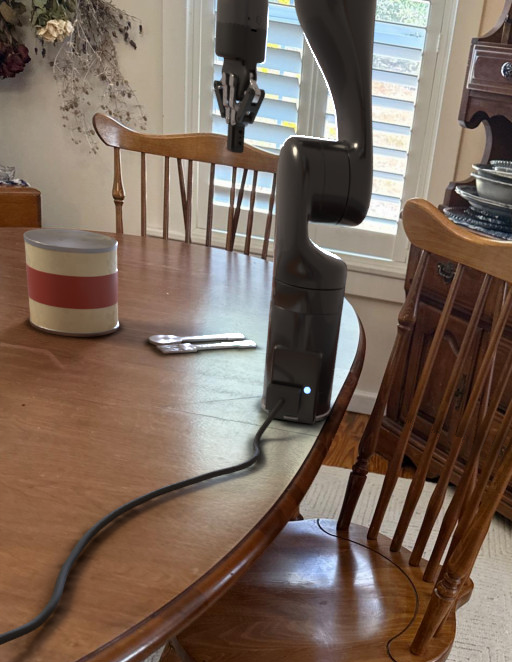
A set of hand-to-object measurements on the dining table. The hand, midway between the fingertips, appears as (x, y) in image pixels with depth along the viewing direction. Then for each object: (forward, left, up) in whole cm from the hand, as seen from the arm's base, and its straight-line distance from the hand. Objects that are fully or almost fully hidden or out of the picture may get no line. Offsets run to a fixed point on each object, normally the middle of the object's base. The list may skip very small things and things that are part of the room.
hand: (235, 151), depth 123 cm
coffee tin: (-16, +21, -27) cm, 37 cm away
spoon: (-14, +1, -27) cm, 30 cm away
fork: (-17, -1, -27) cm, 32 cm away
